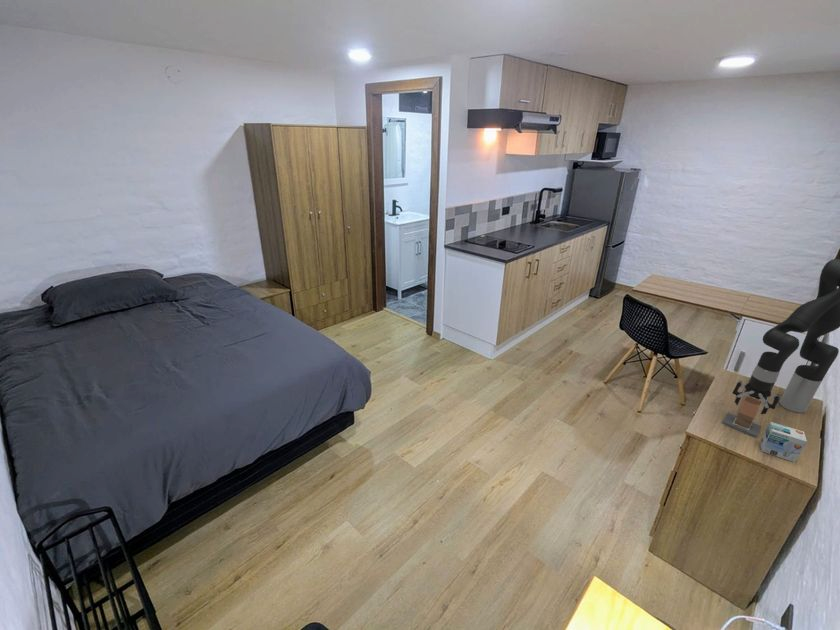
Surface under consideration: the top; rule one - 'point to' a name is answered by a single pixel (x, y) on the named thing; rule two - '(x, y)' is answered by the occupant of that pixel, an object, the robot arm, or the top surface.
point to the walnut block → (743, 420)
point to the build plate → (751, 431)
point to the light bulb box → (783, 441)
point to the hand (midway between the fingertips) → (749, 408)
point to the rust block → (750, 406)
